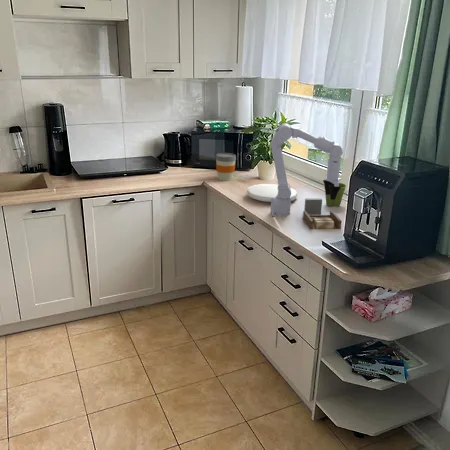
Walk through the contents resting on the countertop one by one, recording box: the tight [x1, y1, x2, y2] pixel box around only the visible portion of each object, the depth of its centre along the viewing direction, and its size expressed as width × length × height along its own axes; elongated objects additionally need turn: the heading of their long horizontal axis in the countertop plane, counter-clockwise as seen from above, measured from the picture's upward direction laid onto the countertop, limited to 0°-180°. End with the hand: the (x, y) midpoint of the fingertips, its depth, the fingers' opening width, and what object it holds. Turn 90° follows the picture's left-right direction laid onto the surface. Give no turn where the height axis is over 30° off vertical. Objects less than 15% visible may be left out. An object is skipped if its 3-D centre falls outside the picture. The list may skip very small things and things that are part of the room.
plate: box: [246, 183, 298, 203], centre depth 255 cm, size 28×6×27 cm
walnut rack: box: [302, 210, 342, 230], centre depth 216 cm, size 14×14×5 cm
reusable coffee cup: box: [215, 152, 237, 181], centre depth 289 cm, size 13×13×15 cm
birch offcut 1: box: [313, 218, 332, 226], centre depth 214 cm, size 8×2×3 cm, turn 95°
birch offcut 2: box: [315, 221, 334, 230], centre depth 212 cm, size 8×2×3 cm, turn 95°
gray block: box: [303, 197, 323, 215], centre depth 229 cm, size 8×2×8 cm, turn 95°
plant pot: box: [322, 182, 348, 208], centre depth 244 cm, size 12×12×11 cm
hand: (330, 196), depth 225 cm, fingers open, 7 cm apart
